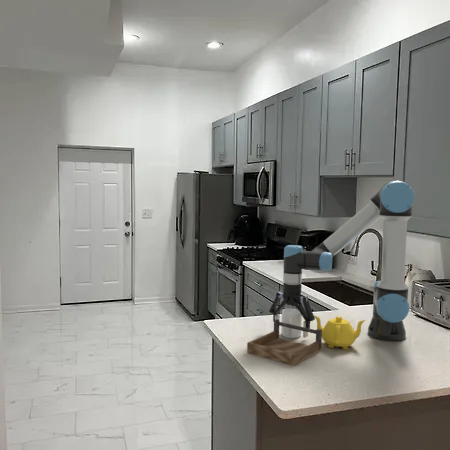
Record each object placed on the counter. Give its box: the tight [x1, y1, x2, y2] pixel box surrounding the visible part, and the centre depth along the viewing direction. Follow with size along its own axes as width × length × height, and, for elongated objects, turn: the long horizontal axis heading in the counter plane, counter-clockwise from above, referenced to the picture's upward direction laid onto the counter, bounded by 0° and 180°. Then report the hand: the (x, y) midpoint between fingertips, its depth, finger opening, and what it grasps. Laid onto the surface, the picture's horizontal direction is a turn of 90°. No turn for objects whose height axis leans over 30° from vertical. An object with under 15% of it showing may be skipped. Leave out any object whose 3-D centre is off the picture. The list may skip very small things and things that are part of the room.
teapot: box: [313, 314, 366, 351], centre depth 180 cm, size 20×15×12 cm
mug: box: [280, 308, 303, 339], centre depth 190 cm, size 12×8×10 cm
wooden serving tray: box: [246, 319, 323, 367], centre depth 173 cm, size 20×20×8 cm
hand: (290, 333), depth 191 cm, fingers open, 13 cm apart
